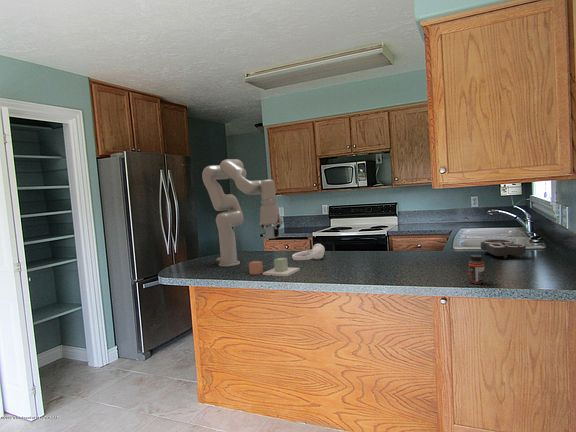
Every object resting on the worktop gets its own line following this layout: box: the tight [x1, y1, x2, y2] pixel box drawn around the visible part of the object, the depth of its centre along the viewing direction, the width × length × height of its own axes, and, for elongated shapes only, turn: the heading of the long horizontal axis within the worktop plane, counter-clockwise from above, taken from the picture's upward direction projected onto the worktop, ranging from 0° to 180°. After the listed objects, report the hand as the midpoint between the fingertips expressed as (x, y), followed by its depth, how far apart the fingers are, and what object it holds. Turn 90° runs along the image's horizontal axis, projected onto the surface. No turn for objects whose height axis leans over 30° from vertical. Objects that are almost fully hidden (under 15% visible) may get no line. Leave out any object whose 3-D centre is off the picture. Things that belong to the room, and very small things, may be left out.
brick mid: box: [264, 225, 279, 240], centre depth 217 cm, size 5×5×6 cm
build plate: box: [262, 257, 301, 277], centre depth 210 cm, size 14×14×7 cm
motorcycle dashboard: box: [480, 238, 527, 261], centre depth 214 cm, size 26×16×7 cm, turn 174°
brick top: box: [248, 260, 264, 275], centre depth 213 cm, size 5×5×6 cm
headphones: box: [291, 243, 326, 261], centre depth 245 cm, size 19×8×20 cm
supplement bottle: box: [468, 254, 486, 285], centre depth 165 cm, size 6×6×11 cm
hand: (272, 236), depth 217 cm, fingers closed on brick mid, 5 cm apart
